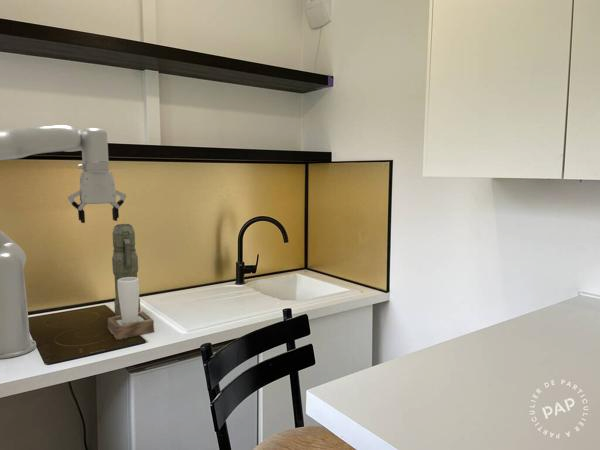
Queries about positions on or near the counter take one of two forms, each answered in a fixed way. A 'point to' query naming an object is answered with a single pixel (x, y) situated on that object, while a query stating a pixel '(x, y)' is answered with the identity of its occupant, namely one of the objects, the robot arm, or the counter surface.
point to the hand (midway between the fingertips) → (99, 221)
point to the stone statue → (123, 257)
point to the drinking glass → (128, 299)
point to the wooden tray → (130, 326)
